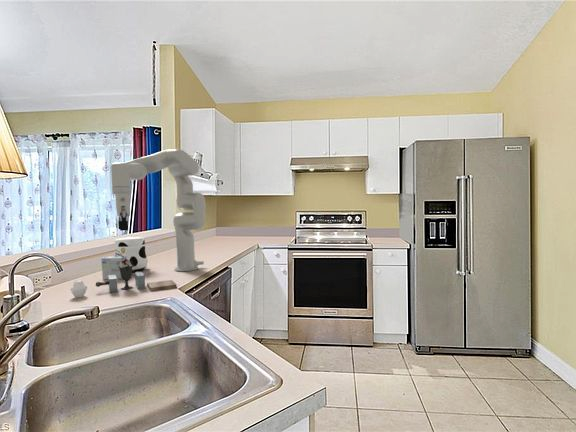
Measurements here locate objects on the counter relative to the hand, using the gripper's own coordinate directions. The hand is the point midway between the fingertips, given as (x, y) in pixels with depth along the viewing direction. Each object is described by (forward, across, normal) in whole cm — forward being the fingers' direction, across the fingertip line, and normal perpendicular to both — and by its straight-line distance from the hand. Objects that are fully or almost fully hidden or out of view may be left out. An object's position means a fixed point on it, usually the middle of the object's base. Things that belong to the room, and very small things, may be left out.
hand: (123, 229), depth 169 cm
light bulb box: (+27, +30, +3) cm, 40 cm away
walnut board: (+26, -6, -14) cm, 31 cm away
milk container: (+26, +46, -6) cm, 54 cm away
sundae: (+27, 0, 0) cm, 27 cm away
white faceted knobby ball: (+27, -3, +18) cm, 33 cm away
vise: (+27, 0, +2) cm, 27 cm away
